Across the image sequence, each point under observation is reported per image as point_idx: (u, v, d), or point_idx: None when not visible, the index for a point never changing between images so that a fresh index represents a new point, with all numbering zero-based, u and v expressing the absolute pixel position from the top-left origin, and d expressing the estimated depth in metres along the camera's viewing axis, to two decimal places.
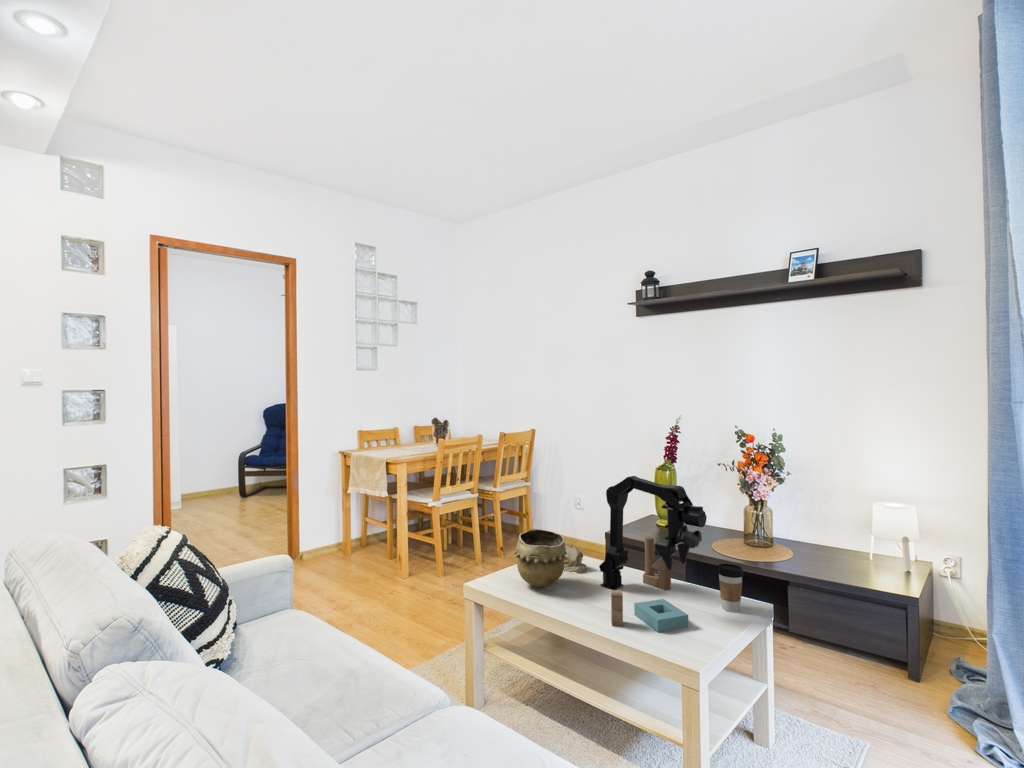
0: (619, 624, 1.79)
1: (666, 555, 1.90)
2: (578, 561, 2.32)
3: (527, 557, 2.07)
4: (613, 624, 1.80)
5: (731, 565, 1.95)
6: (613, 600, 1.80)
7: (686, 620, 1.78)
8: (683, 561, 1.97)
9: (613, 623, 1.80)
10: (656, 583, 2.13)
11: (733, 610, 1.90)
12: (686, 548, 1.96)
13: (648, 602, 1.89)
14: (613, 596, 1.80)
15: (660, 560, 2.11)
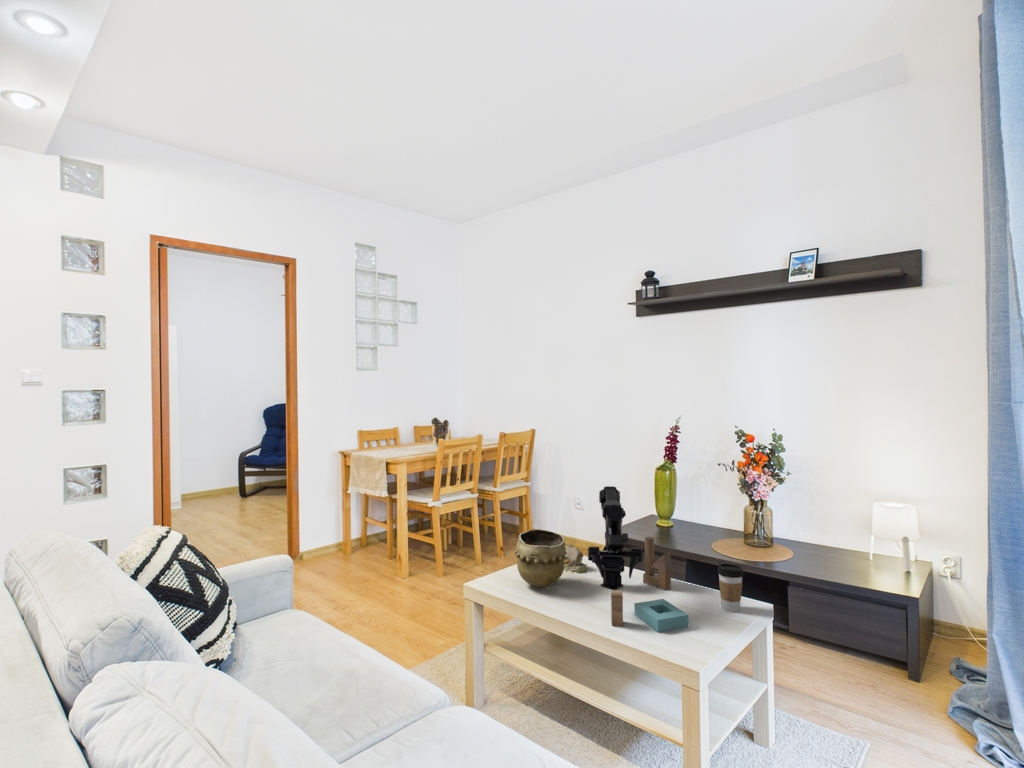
0: (619, 624, 1.79)
1: None
2: (578, 561, 2.33)
3: (527, 557, 2.07)
4: (613, 624, 1.80)
5: (731, 565, 1.95)
6: (613, 600, 1.80)
7: (686, 620, 1.78)
8: (629, 575, 1.86)
9: (613, 623, 1.80)
10: (656, 583, 2.13)
11: (733, 610, 1.90)
12: (630, 561, 1.89)
13: (648, 602, 1.89)
14: (613, 596, 1.80)
15: (660, 560, 2.11)
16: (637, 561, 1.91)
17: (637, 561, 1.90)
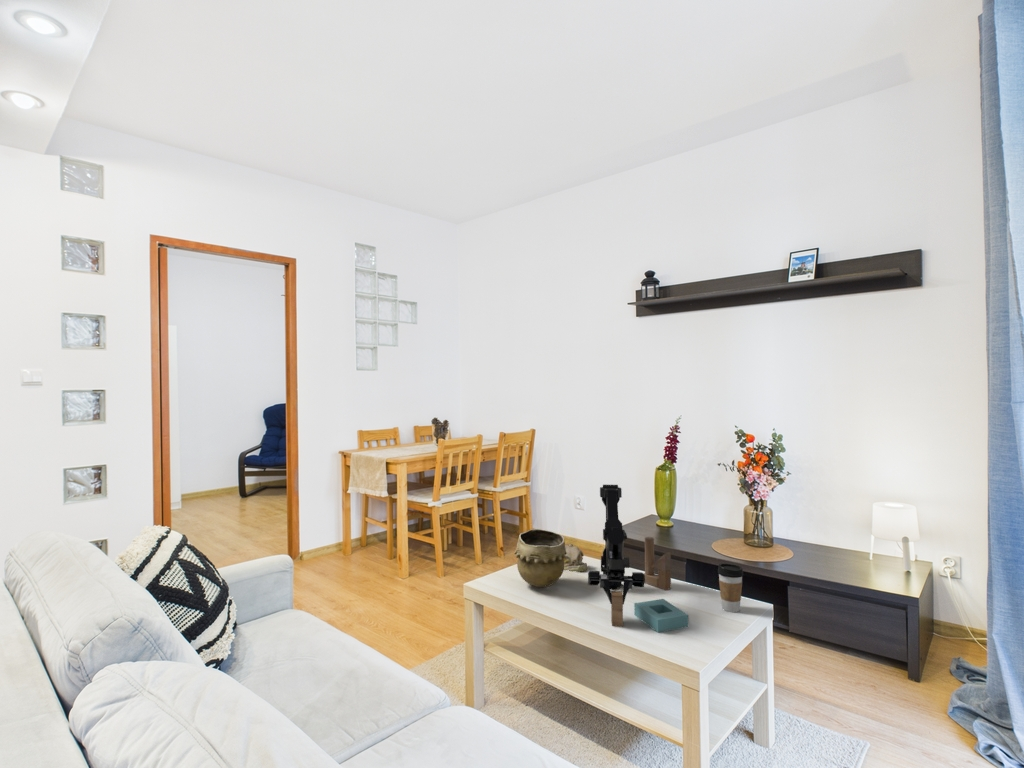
0: (619, 624, 1.79)
1: None
2: (579, 560, 2.34)
3: (527, 557, 2.07)
4: (613, 624, 1.80)
5: (731, 565, 1.95)
6: (613, 600, 1.80)
7: (686, 620, 1.78)
8: None
9: (613, 623, 1.80)
10: (656, 583, 2.13)
11: (733, 610, 1.90)
12: (623, 586, 1.83)
13: (648, 602, 1.89)
14: (613, 596, 1.80)
15: (660, 560, 2.11)
16: (631, 586, 1.84)
17: (630, 586, 1.84)
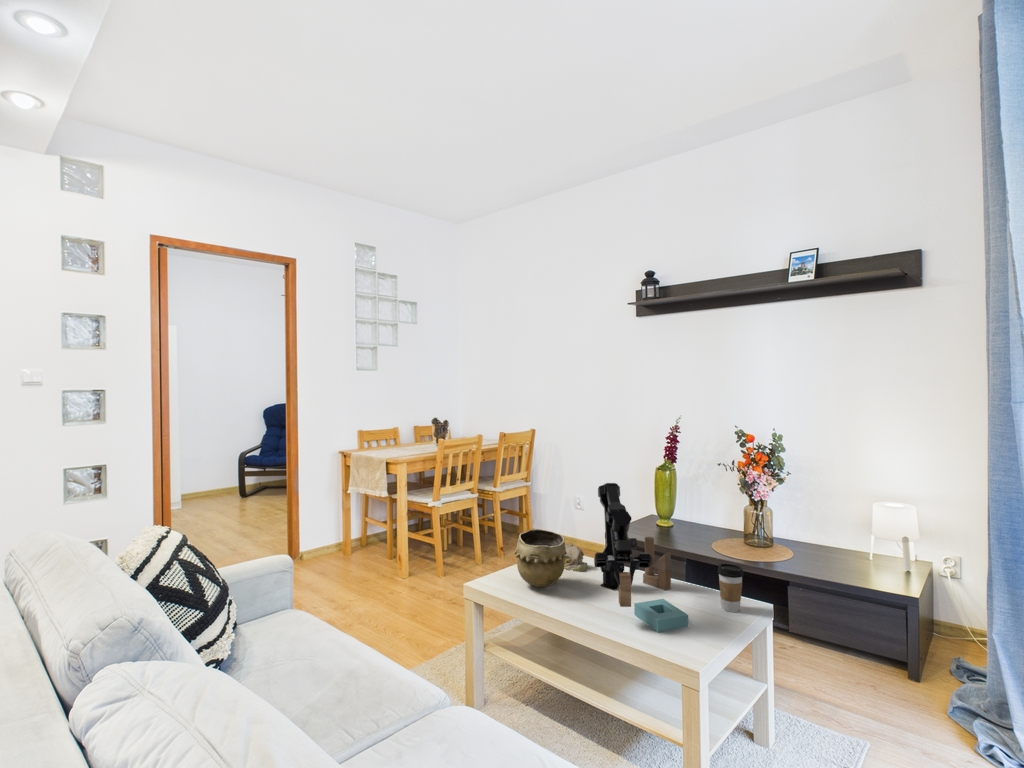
0: (627, 604, 1.79)
1: (614, 570, 1.84)
2: (579, 559, 2.34)
3: (527, 557, 2.07)
4: (621, 605, 1.79)
5: (731, 565, 1.95)
6: (621, 581, 1.79)
7: (686, 620, 1.78)
8: None
9: (621, 604, 1.79)
10: (656, 583, 2.13)
11: (733, 610, 1.90)
12: (630, 566, 1.83)
13: (648, 602, 1.89)
14: (621, 577, 1.79)
15: (660, 560, 2.11)
16: (637, 567, 1.85)
17: (637, 566, 1.85)
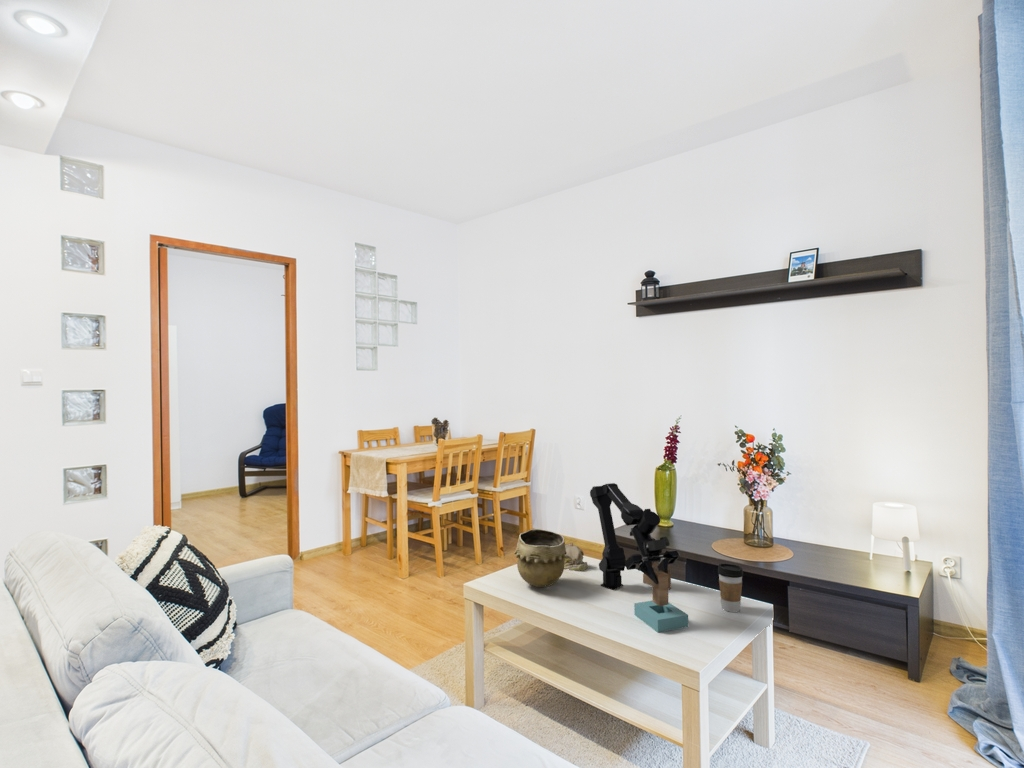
0: (665, 603, 1.82)
1: (648, 570, 1.85)
2: (579, 559, 2.35)
3: (527, 557, 2.07)
4: (660, 604, 1.81)
5: (731, 565, 1.95)
6: (660, 580, 1.81)
7: (686, 620, 1.78)
8: None
9: (660, 603, 1.81)
10: None
11: (733, 610, 1.90)
12: (663, 565, 1.86)
13: (648, 602, 1.89)
14: (660, 576, 1.81)
15: None
16: None
17: None
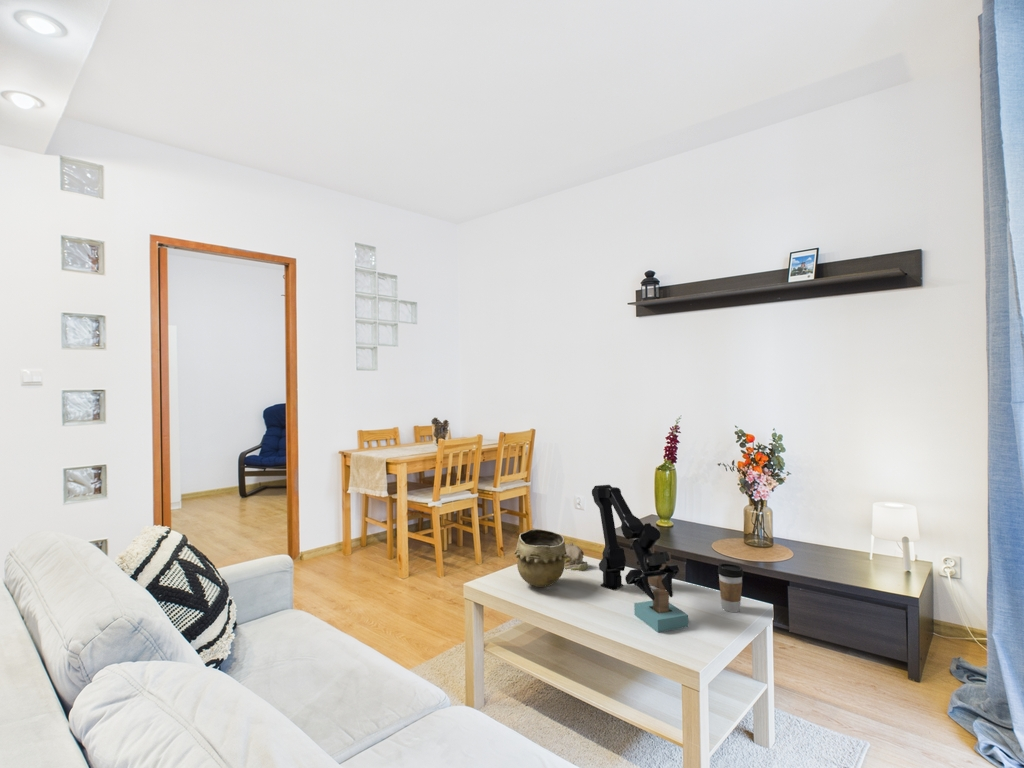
0: None
1: (644, 585, 1.84)
2: (580, 559, 2.35)
3: (527, 557, 2.07)
4: None
5: (731, 565, 1.95)
6: (661, 598, 1.81)
7: (686, 620, 1.78)
8: (670, 594, 1.83)
9: None
10: (656, 583, 2.13)
11: (733, 610, 1.90)
12: (667, 579, 1.86)
13: (648, 602, 1.89)
14: (661, 594, 1.81)
15: None
16: None
17: None
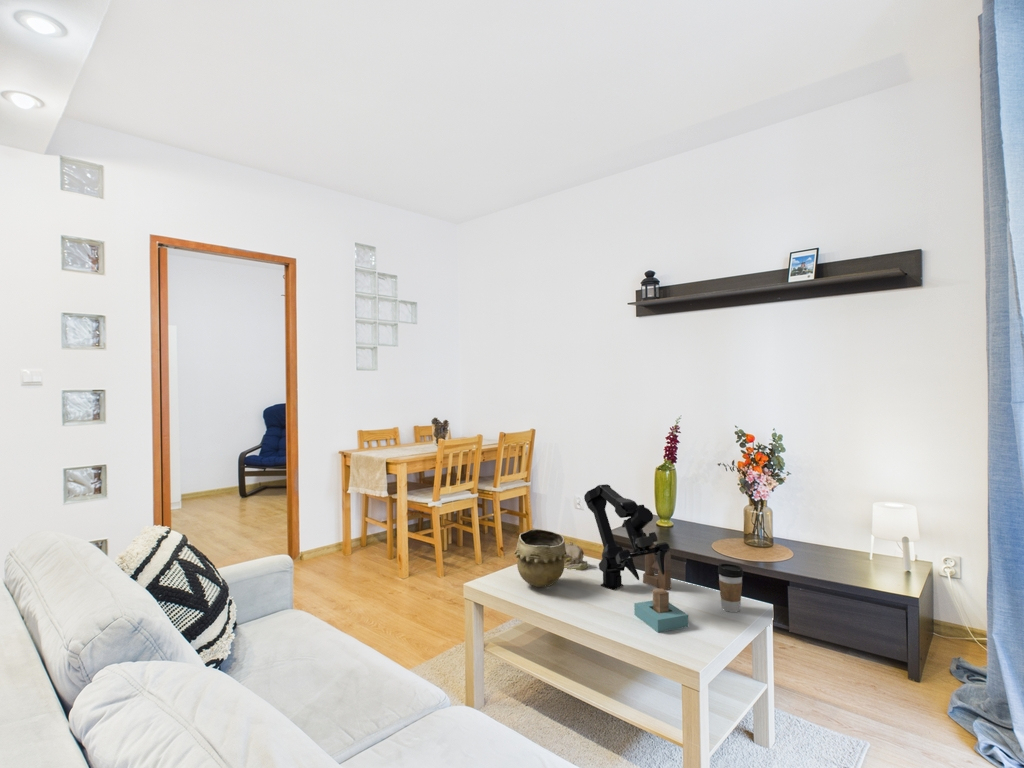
0: None
1: (630, 566, 1.91)
2: (580, 558, 2.36)
3: (527, 557, 2.07)
4: None
5: (731, 565, 1.95)
6: (661, 598, 1.81)
7: (686, 620, 1.78)
8: (662, 572, 1.90)
9: None
10: (656, 583, 2.13)
11: (733, 610, 1.90)
12: (659, 557, 1.92)
13: (648, 602, 1.89)
14: (661, 594, 1.81)
15: None
16: None
17: None
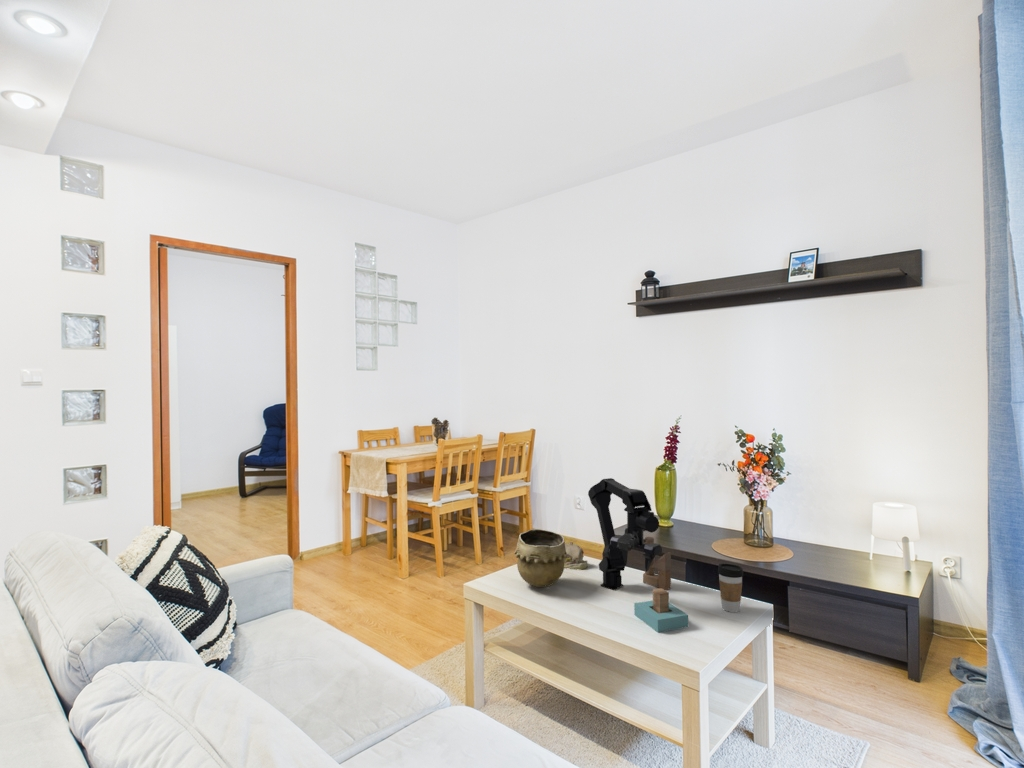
0: None
1: None
2: (580, 558, 2.37)
3: (527, 557, 2.07)
4: None
5: (731, 565, 1.95)
6: (661, 598, 1.81)
7: (686, 620, 1.78)
8: None
9: None
10: (656, 583, 2.13)
11: (733, 610, 1.90)
12: None
13: (648, 602, 1.89)
14: (661, 594, 1.81)
15: (660, 560, 2.11)
16: None
17: None
